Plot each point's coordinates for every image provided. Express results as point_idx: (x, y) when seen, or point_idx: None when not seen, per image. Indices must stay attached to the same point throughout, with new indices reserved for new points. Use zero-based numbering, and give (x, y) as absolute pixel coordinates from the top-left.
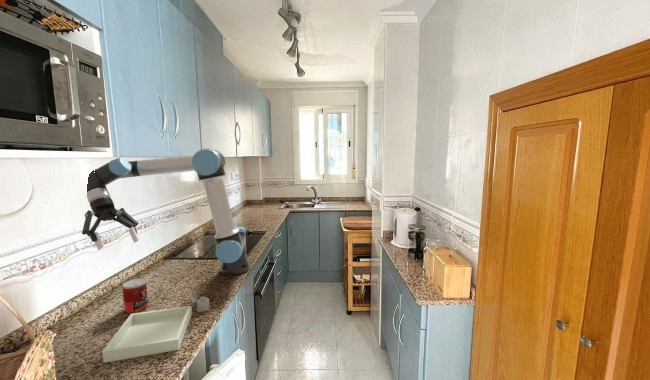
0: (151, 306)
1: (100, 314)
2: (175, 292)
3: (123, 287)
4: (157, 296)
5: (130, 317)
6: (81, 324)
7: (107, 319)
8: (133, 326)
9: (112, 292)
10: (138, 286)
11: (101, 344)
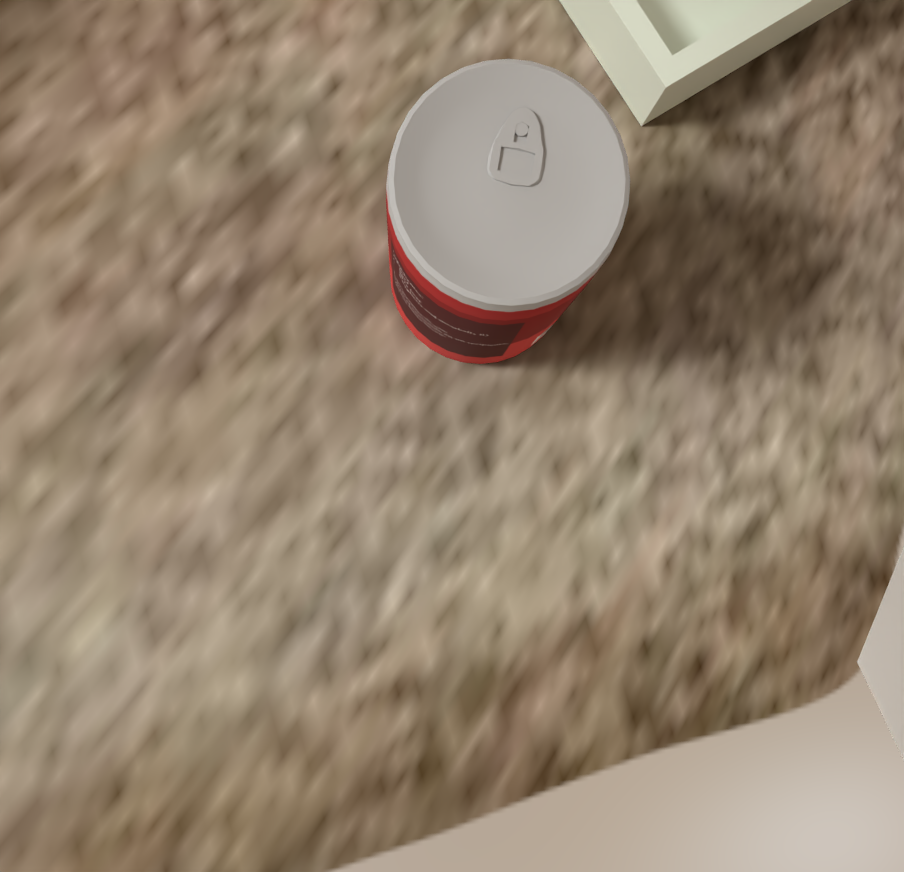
0: None
1: (637, 500)
2: (128, 181)
3: (622, 219)
4: (245, 288)
5: (707, 41)
6: (783, 495)
7: (669, 363)
8: (698, 34)
9: (310, 828)
10: (549, 72)
11: (885, 97)
